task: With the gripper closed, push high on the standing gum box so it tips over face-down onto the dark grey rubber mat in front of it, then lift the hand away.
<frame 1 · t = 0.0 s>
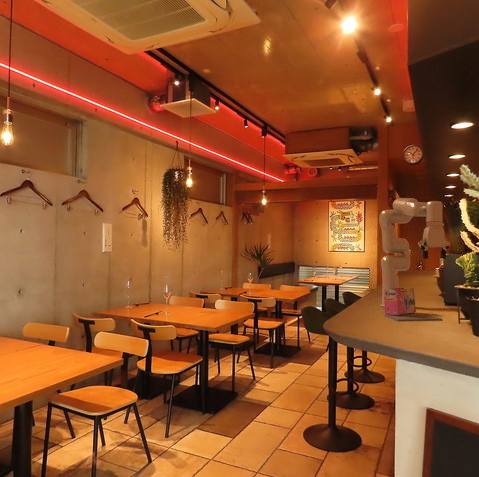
hand: (434, 258, 210), 31 cm above the bar counter, fingers open, 9 cm apart
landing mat: (412, 318, 214), on the bar counter
gum box: (400, 313, 225), on the bar counter, touching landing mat
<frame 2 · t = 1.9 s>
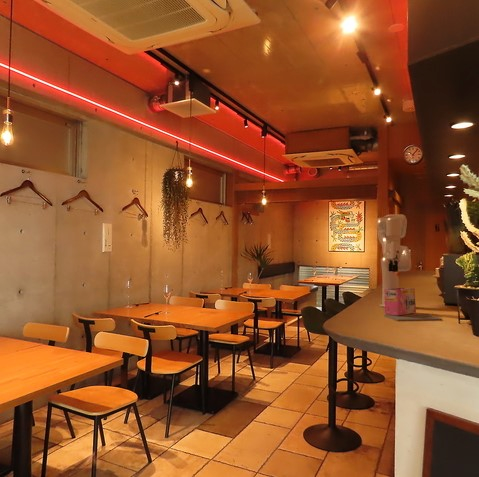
hand: (393, 271, 234), 23 cm above the bar counter, fingers open, 3 cm apart
nothing on the bar counter moved.
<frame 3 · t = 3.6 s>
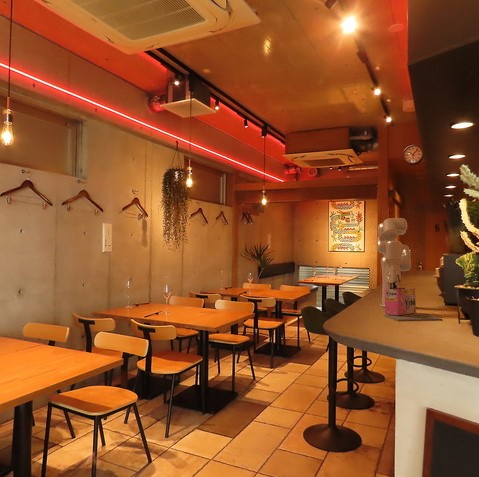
hand: (393, 294, 233), 10 cm above the bar counter, fingers closed
gum box: (400, 313, 225), on the bar counter, touching gripper, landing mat
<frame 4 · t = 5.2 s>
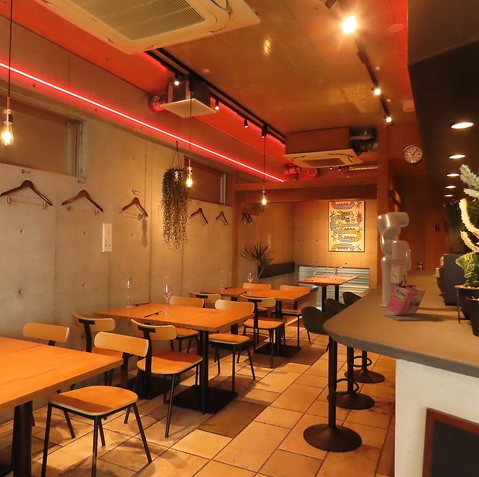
hand: (399, 295, 227), 10 cm above the bar counter, fingers closed
gum box: (401, 310, 225), point 2 cm above the bar counter, touching gripper, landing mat
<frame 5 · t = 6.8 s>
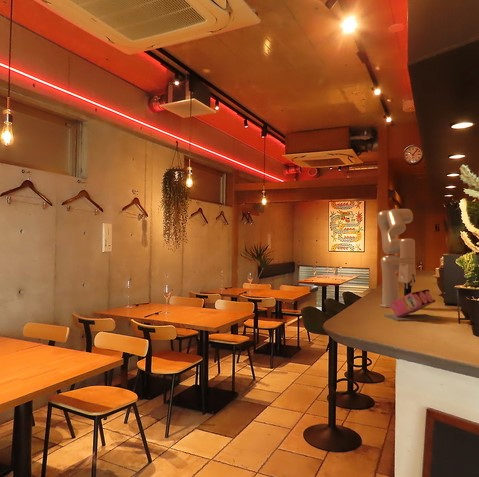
hand: (407, 296, 219), 11 cm above the bar counter, fingers closed
gum box: (401, 308, 221), point 4 cm above the bar counter, touching gripper, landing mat
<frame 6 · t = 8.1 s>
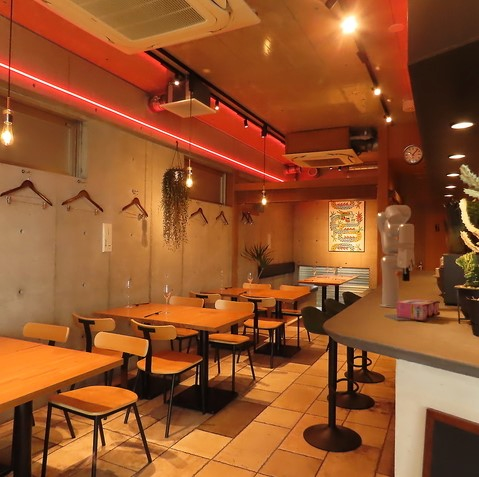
hand: (405, 280, 221), 19 cm above the bar counter, fingers closed
gum box: (405, 307, 219), point 5 cm above the bar counter, touching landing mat
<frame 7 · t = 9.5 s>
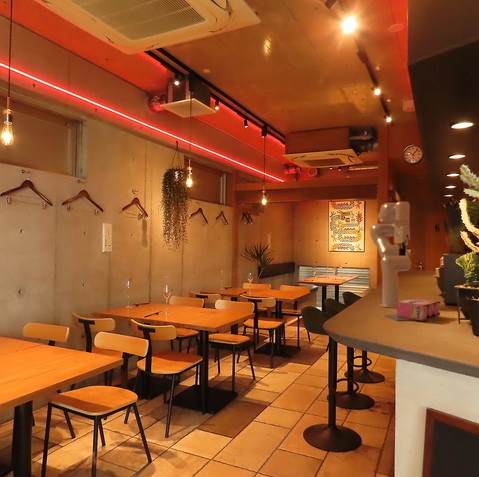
hand: (402, 255, 234), 32 cm above the bar counter, fingers closed
nothing on the bar counter moved.
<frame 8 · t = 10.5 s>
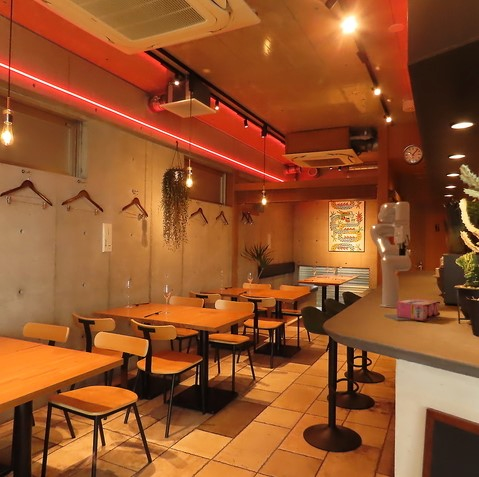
hand: (402, 255, 234), 32 cm above the bar counter, fingers closed
nothing on the bar counter moved.
at the end: gum box tilted 90°; gum box inside the target area (3.7 cm from its centre), point 4.8 cm above the bar counter; the gripper is holding nothing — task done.
